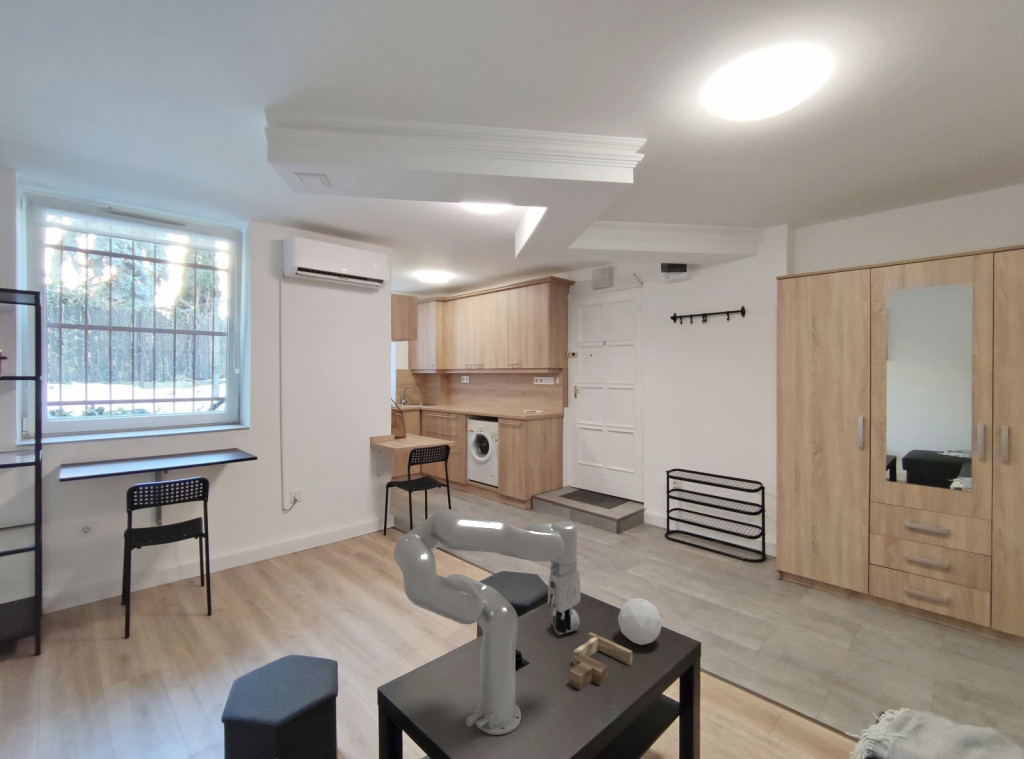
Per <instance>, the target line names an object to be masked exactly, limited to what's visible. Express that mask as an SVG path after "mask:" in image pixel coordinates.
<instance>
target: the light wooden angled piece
mask: <svg viewBox="0 0 1024 759" xmlns="http://www.w3.org/2000/svg"><path fill="white" fill-rule="evenodd" d="M598 651H600V652H601V653H604V654H606V655H608V656H610V657H612V658H614V659H616V660H618V661H620V662H623V663H624V664H626V665H628V666H632V664H633V650H631V649H629V648H627V647H624V646H623V645H621V644H619V643H616V642H614V641H612V640H609V639H607V638H605V637H602V636H601V635H598V634H596V633H594V632H592V631H591V632H589V633H588V641H586V642H585V643H583V644H581V645H580V646H579V647H577V648H575V649H574V650H572V653H573V654H572V663H573V665H574V658H575V657H576V656H578V655H579V654H581V653H582V654H584V655H586V656H588V657H591V656H592V655H594V654H595V653H596V652H598Z"/></svg>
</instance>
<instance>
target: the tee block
mask: <svg viewBox="0 0 1024 759" xmlns="http://www.w3.org/2000/svg"><path fill="white" fill-rule="evenodd" d="M608 680H609V666H607V665H606V664H604V663H602V662H600V661H598V660H596V659H594V658H592V657H591V656H589V657H588V656H586V655H584V654H582V653H581V654H579V655H578V656H576V657H575V658H574V664H573V668H571V669H569V685H570V686H572V687H574V688H576V689H577V690H579V691H582V690H583V689H584V688H585V687H587V686H588V685H589V684H590V683H592V682H593V683H595V684H597V685H598V686H602V685H604V684H605V683H606V682H607V681H608Z"/></svg>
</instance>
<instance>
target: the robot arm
mask: <svg viewBox="0 0 1024 759" xmlns="http://www.w3.org/2000/svg"><path fill="white" fill-rule="evenodd" d="M577 530H578V529H577V526H576V524H574V523H573V522H570V521H567V520H566V521H565V520H562V521H556V522H553V523H552V522H551V523H549V522H548V523H547V522H546V523H545V522H534V523H531V524H528V525H527V526H525V528H521V527H518V526H515V525H513V524H511V523H508V522H506V521H504V520H501V519H496V518H485V517H484V518H483V517H475V516H474V517H473V516H464V515H460V514H459V513H457V512H456V511H455V510H453V509H449V508H446V509H441V510H439V511H437V512H435V513H434V514H432V515H430V516H429V517H428V518H426V519H424V520H423V521H422V522H420V523H419V524H418V525H417V526H415V527H413V529H410V531H408V532H407V533H405V534H404V535H403V536H401V538H399V539H398V541H397V543H396V544H395V546H394V549H393V556H394V560H395V562H396V564H397V566H398V567H399V569H400V571H401V573H402V576H403V577H402V578H403V579H402V580H403V587H404V592H405V595H406V597H407V599H408V601H410V602H411V604H413V605H414V606H417V607H419V608H421V609H423V610H427V611H429V612H431V613H433V614H436V615H438V616H441V617H442V618H445V619H449V620H451V621H453V622H455V623H458V624H461V625H471V624H475V623H477V624H478V626H479V628H480V629H481V630H482V641H481V644H480V649H479V651H480V652H479V665H480V666H479V673H480V674H479V684H480V686H479V703H478V704H477V705H476V708H475V710H474V712H473V713H474V714H473V715H470V716H469V717H467V718H466V719H465V723H466V725H467V727H468V728H471V726H474V724H475V726H476V728H478V729H479V730H480V731H482V733H483V732H484V733H486V734H489V735H492V736H493V735H494V736H495V735H498V736H499V735H505V734H508V733H510V732H512V731H514V730H515V729H516V728H518V726H519V725H520V723H521V721H522V711H521V709H520V706H518V704H517V703H516V672H515V649H516V647H517V646H516V644H517V636H518V631H519V616H518V614H517V612H516V610H515V608H514V607H513V605H512V604H511V603H510V602H509V601H508V600H507V599H506V598H505V597H504V596H503V595H502V594H501V593H500V592H499V591H497V589H495V588H494V587H493V586H490V585H487V584H486V583H483V582H481V581H479V580H476V579H475V578H471V577H469V576H467V575H464V574H460V573H455V574H454V573H453V574H449V575H448V576H446V577H445V576H442V575H438V573H437V564H436V557H435V555H434V550H436V549H437V548H438V547H439V546H441V545H442V546H443V547H444V548H446V549H447V550H452V551H461V552H462V551H465V552H480V553H494V554H498V555H502V556H506V557H510V558H516V559H519V560H520V559H521V560H526V561H533V562H550V568H549V569H550V572H549V579H548V584H547V585H548V586H547V605H548V607H549V610H548V614H549V615H551V617H552V616H555V617H556V629H557V630H558V631H560V632H562V633H565V634H567V633H566V630H571V615H572V609H574V607H575V606H576V605H578V604H579V603H580V602H581V597H582V595H581V581H580V580H581V579H580V573H579V570H578V564H577V562H578V557H577V556H578V554H577V553H578V546H577V545H578V544H577V543H578V542H577V541H578V540H577V539H578V536H577V535H578V534H577V533H578V531H577ZM560 612H561V613H560Z"/></svg>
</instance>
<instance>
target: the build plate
mask: <svg viewBox="0 0 1024 759" xmlns="http://www.w3.org/2000/svg"><path fill="white" fill-rule="evenodd" d="M528 665H530V662H529V661H528V660H526V659H525V658H523V654H522V652H521V651H520V650H518V649H516V648H515V673H516V672H517V671H520V670H521V669H523V668H524V667H526V666H528Z"/></svg>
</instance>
